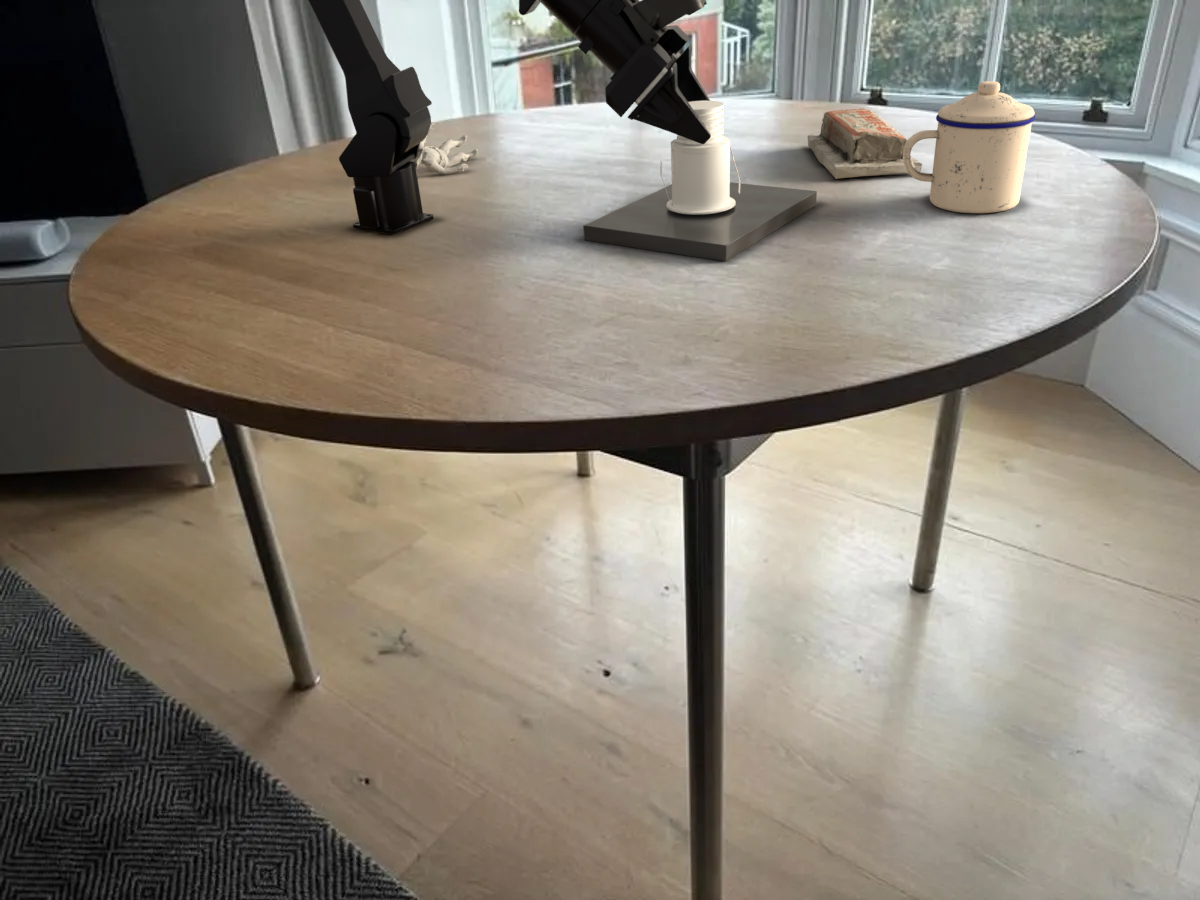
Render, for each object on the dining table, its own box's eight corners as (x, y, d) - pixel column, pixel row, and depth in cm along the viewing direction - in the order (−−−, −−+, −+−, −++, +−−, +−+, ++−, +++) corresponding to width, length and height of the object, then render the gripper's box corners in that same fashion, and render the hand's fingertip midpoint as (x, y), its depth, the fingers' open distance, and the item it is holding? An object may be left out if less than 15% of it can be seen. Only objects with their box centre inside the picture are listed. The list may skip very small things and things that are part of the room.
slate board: (685, 190, 107) (685, 177, 106) (816, 205, 98) (817, 190, 98) (584, 240, 93) (582, 225, 92) (726, 261, 85) (726, 245, 84)
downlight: (664, 219, 92) (661, 114, 87) (659, 201, 98) (656, 101, 93) (745, 214, 92) (746, 108, 87) (735, 195, 98) (735, 96, 93)
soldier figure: (493, 167, 127) (450, 159, 116) (469, 192, 129) (426, 186, 118) (458, 124, 128) (413, 112, 117) (435, 150, 130) (388, 140, 119)
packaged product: (807, 108, 119) (885, 103, 119) (805, 147, 122) (881, 142, 121) (836, 137, 104) (926, 132, 103) (834, 181, 106) (922, 176, 106)
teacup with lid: (1009, 189, 99) (1027, 72, 93) (1031, 214, 91) (1052, 88, 85) (892, 192, 101) (903, 78, 95) (904, 217, 93) (916, 94, 87)
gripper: (636, -57, 76) (769, 82, 79) (666, -65, 92) (776, 52, 95) (551, 51, 81) (678, 176, 85) (593, 26, 97) (699, 133, 100)
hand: (711, 130), depth 91 cm, fingers open, 9 cm apart
